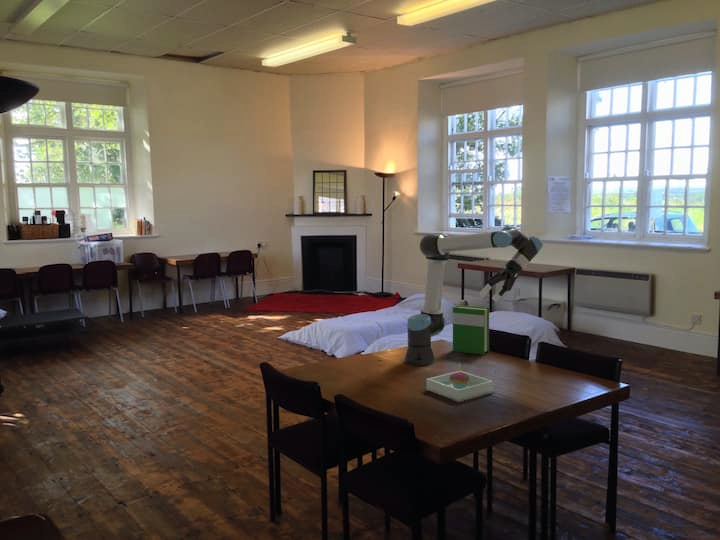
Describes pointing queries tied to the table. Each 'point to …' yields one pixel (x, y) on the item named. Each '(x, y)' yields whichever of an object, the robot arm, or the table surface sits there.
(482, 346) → the hardback book
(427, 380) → the box
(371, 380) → the table surface
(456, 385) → the cupcake
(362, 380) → the table surface
